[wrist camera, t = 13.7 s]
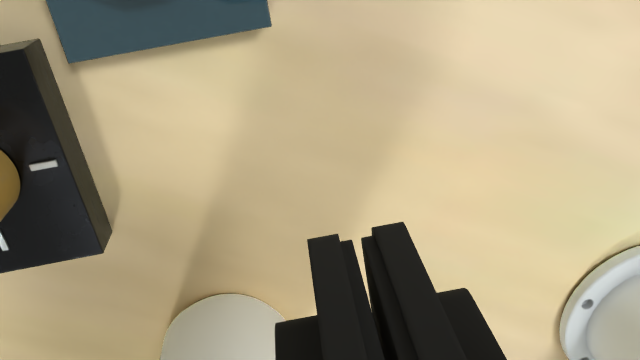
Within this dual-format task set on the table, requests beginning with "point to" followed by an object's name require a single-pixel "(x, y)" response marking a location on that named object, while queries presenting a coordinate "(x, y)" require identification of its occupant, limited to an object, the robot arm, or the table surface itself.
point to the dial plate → (44, 168)
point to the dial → (8, 184)
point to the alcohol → (223, 330)
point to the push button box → (148, 23)
